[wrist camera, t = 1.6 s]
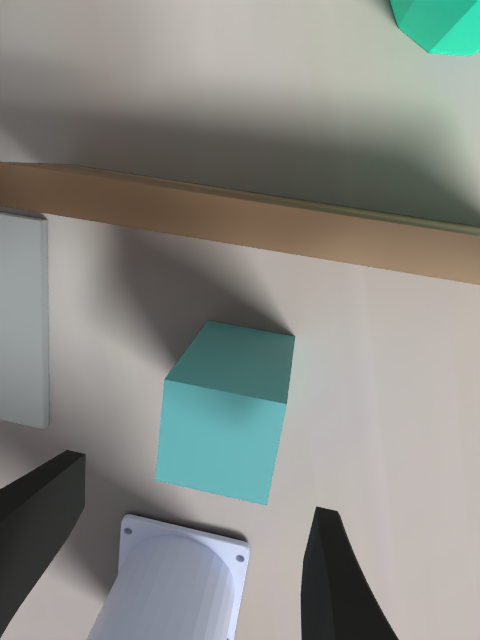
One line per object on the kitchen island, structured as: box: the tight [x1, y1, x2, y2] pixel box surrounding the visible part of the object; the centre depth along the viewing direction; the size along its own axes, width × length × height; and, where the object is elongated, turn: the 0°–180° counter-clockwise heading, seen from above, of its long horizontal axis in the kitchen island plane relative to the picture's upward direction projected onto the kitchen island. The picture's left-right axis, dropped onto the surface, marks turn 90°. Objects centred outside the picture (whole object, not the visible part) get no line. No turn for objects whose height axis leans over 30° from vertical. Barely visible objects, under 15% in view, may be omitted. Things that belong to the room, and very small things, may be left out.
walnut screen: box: [0, 162, 480, 285], centre depth 18 cm, size 2×20×5 cm, turn 83°
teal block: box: [155, 320, 295, 506], centre depth 20 cm, size 4×4×7 cm
